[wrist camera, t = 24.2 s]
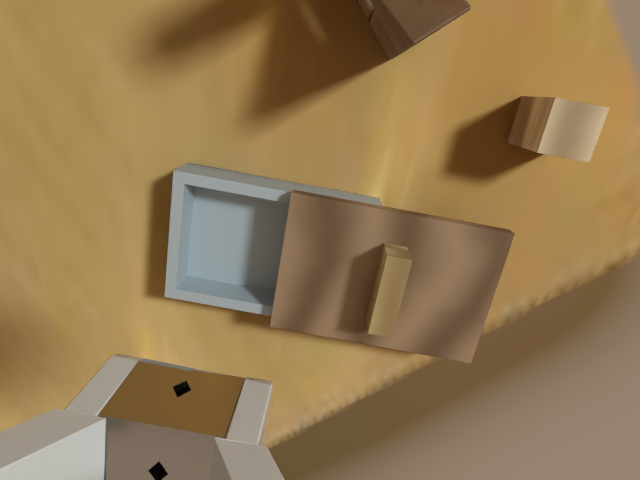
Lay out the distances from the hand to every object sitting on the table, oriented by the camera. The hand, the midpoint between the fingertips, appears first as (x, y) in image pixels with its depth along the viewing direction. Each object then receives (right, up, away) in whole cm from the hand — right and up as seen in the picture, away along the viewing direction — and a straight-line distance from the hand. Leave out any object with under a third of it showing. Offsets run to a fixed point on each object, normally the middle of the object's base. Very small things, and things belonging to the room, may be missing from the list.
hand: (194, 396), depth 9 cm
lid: (+8, 0, +31) cm, 32 cm away
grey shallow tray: (-2, +3, +35) cm, 35 cm away
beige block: (+21, +13, +31) cm, 40 cm away
